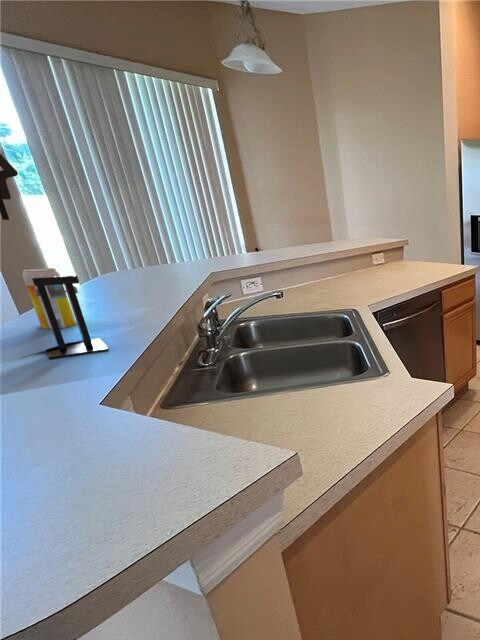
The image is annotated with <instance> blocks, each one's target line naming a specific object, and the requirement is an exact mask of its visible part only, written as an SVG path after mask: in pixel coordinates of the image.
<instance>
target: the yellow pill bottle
mask: <svg viewBox="0 0 480 640" xmlns="http://www.w3.org/2000/svg"><path fill="white" fill-rule="evenodd" d="M22 271H23V273H22V278H23V281H24V284H25V287H26V290H27V292H28V294H29V297H30V300H31V303H32V305H33V308H34V311H35V313H36V317H37V319H38V322H39V325H40V328H41V329H43V330H44V329H45V330H52V328H51V325H50V322H49V320H48V317H47V314H46V311H45V308H44V306H43V303H42V300H41V297H40V296H37V295H36V293H35V290H34V289H37V286H34V283H33V280H32V278H44V277H61V274H60V273H59V271H57V270H56V268H53V267H51V268H50V267H48V268H47V267H44V268H43V267H41V268H40V267H39V268H28V269H23V270H22ZM63 287H64V290H65V293H66V298H56V299H51V297H50V294H49V291H48V288H47V285H46V286H45V288H46V291H47V294H48V297H49V300H50V303H51V305H52V308H53V311H54V314H55V317H56V320H57V323H58V325H59V328H60V329H65V328H69V327H75V326H76V325H77V321H76V318H75V315H74V312H73V309H72V306H71V303H70V300H69V297H68V294H67V291H66V289H65V286H64V285H63Z"/></svg>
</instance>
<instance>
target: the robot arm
mask: <svg viewBox="0 0 480 640" xmlns="http://www.w3.org/2000/svg"><path fill="white" fill-rule="evenodd" d="M0 168H1V169H2V170H0V217H1V219H2V221H10V217H9V213H8V210H7V208H6V205H5V203H4V200H11V197H12V196H11V193H10V189H9V187H8V183H7V179H9V178H14V177H17V176H18V174H19V172H18V171H17V169H15V168H14V167H13V166H12V165H11V164H10V162H9V161H8V160H7V159H6V158H5V157H4V156H3V155H2V154H1V153H0Z"/></svg>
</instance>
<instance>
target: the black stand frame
mask: <svg viewBox="0 0 480 640" xmlns="http://www.w3.org/2000/svg"><path fill="white" fill-rule="evenodd" d="M63 286H64V289H65V292H66V295H67V298H68V301H69V304H70V307H71V310H72V313H73V316H74V319H75V322H76V325H77V327H78V330H79V333H80V336H81V339H82V340H79V341H72V342H71V341H70V342H67V343H65V340H64V337H63V333H62V331H61V328H59V325H58V323H57V320H56V317H55V314H54V311H53V308H52V305H51V303H50V300H49V297H48V294H47V291H46V288H45V286H37V289H34V290H35V293H36V295H37V296H40V297H41V300H42V303H43V306H44V308H45V311H46V314H47V317H48V320H49V322H50V325H51V328H52V329H51V331H52V334H53V337H54V339H55V342H56V346H53V347H50V348H47V349H45V353H46V355H47V358H48V360H49V361H51V360H57V359H65V358H71V357H77V356H78V357H79V356H83V355H90V354H97V353H103V352H109V351H110V350H109V348H108V347H107V345H106V344H105V343H104V341H103V340H101V338H94V339H91V336H90V332H89V330H88V326H87V322H86V320H85V318H84V314H83V311H82V309H81V305H80V302H79V299H78V296H77V294H78V293H79V291H78V288H77V286H76V285H74V284H63Z"/></svg>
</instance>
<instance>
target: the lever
mask: <svg viewBox="0 0 480 640" xmlns="http://www.w3.org/2000/svg"><path fill="white" fill-rule="evenodd" d="M32 280H33V283H34V286H46V285H47V288H48V291H49V294H50V297H51V299H56V298H66V295H67V292H66V289H65V286H64V284H73V285H74V284H76V285H77V284H80V279H79V277H78V275H65V276H64V275H63V276H61V275H60V277H44V278H32ZM63 286H64V287H63ZM64 289H65V290H64ZM65 292H66V293H65Z"/></svg>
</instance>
